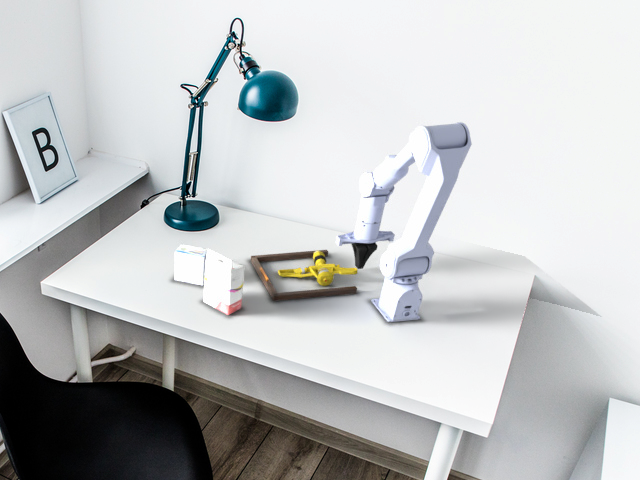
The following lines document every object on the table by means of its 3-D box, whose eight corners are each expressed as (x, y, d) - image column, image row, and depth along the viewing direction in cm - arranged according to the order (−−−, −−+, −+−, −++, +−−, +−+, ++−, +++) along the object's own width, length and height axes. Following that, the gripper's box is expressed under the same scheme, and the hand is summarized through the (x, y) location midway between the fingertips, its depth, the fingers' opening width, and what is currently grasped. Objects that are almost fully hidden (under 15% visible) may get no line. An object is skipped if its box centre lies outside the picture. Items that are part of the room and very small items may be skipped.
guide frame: (356, 293, 162) (357, 287, 160) (273, 300, 160) (274, 294, 159) (325, 254, 178) (327, 248, 177) (250, 260, 176) (251, 254, 175)
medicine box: (208, 278, 169) (210, 248, 164) (202, 286, 166) (204, 256, 161) (180, 272, 172) (180, 243, 167) (173, 280, 168) (174, 250, 163)
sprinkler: (349, 243, 173) (360, 271, 160) (349, 257, 175) (359, 285, 162) (275, 250, 176) (279, 277, 164) (275, 263, 178) (280, 291, 166)
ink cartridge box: (242, 308, 157) (247, 254, 149) (228, 316, 155) (232, 261, 146) (216, 294, 163) (220, 241, 154) (202, 301, 160) (205, 248, 151)
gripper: (389, 210, 165) (378, 257, 173) (334, 214, 164) (326, 261, 172) (402, 222, 159) (390, 270, 168) (346, 226, 158) (336, 275, 166)
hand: (358, 266), depth 169 cm, fingers closed
